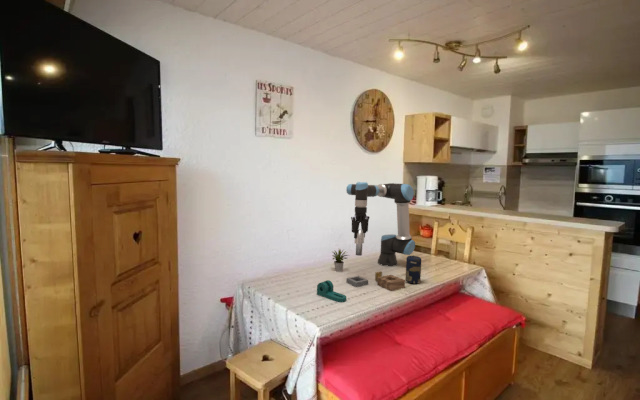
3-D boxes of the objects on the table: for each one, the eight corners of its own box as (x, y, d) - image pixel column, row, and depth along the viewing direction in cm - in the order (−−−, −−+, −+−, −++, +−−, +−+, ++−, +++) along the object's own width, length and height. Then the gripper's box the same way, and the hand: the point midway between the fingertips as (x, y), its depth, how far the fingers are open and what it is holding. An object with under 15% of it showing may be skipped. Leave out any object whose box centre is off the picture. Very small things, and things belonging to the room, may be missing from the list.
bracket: (316, 294, 190) (317, 281, 190) (324, 291, 196) (324, 279, 195) (341, 303, 179) (341, 289, 178) (348, 300, 184) (349, 286, 183)
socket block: (377, 284, 210) (377, 277, 210) (390, 282, 217) (391, 274, 216) (390, 291, 200) (391, 283, 200) (404, 287, 206) (405, 280, 206)
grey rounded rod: (354, 254, 210) (355, 229, 209) (359, 253, 212) (360, 229, 211) (358, 255, 207) (359, 230, 206) (363, 255, 209) (364, 230, 208)
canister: (420, 281, 221) (422, 254, 219) (419, 285, 212) (421, 258, 210) (405, 279, 224) (407, 253, 222) (404, 283, 215) (406, 256, 213)
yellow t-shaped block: (374, 280, 217) (375, 272, 217) (379, 279, 220) (380, 271, 219) (385, 284, 209) (385, 276, 209) (390, 283, 212) (390, 275, 211)
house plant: (337, 275, 228) (338, 251, 226) (324, 270, 238) (325, 248, 237) (351, 271, 237) (352, 249, 236) (338, 266, 247) (339, 245, 246)
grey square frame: (346, 282, 213) (346, 278, 213) (358, 280, 218) (358, 275, 218) (355, 287, 204) (356, 282, 204) (368, 284, 210) (368, 280, 210)
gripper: (354, 207, 199) (352, 245, 201) (375, 206, 209) (373, 243, 211) (346, 206, 206) (345, 243, 208) (367, 205, 215) (365, 240, 217)
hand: (359, 243), depth 209 cm, fingers closed on grey rounded rod, 4 cm apart
